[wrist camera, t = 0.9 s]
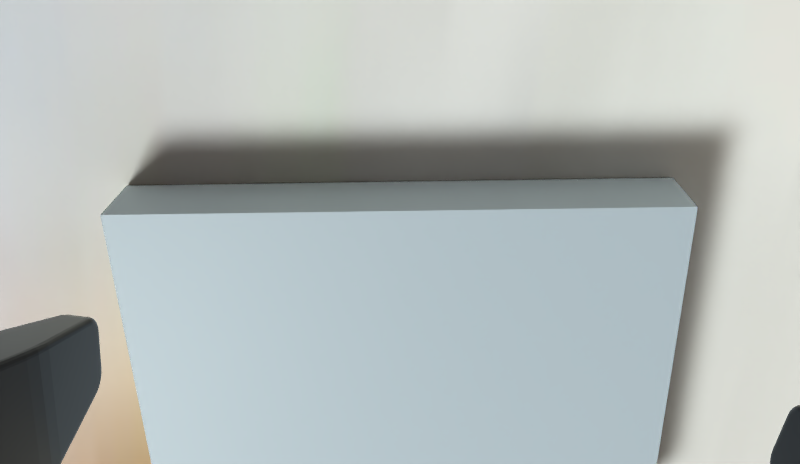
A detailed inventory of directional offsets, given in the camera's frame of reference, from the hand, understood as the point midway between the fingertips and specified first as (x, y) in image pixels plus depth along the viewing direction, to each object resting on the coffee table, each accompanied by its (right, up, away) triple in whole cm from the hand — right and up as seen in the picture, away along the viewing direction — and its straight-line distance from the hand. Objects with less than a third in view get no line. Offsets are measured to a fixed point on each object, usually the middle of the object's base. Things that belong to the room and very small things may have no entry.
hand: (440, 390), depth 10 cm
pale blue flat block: (0, -2, +13) cm, 14 cm away
